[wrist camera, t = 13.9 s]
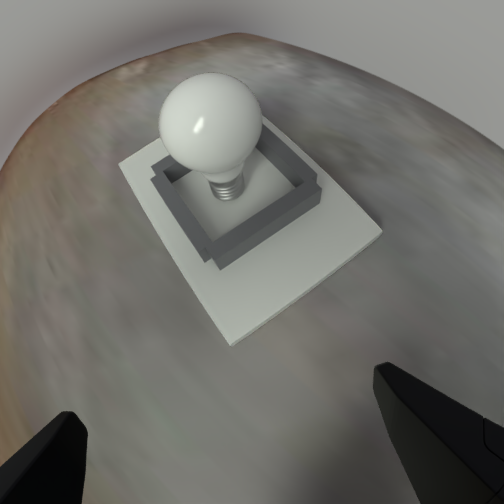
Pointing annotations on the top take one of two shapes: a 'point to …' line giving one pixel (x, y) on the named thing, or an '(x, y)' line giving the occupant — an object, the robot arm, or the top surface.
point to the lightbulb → (212, 129)
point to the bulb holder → (251, 229)
